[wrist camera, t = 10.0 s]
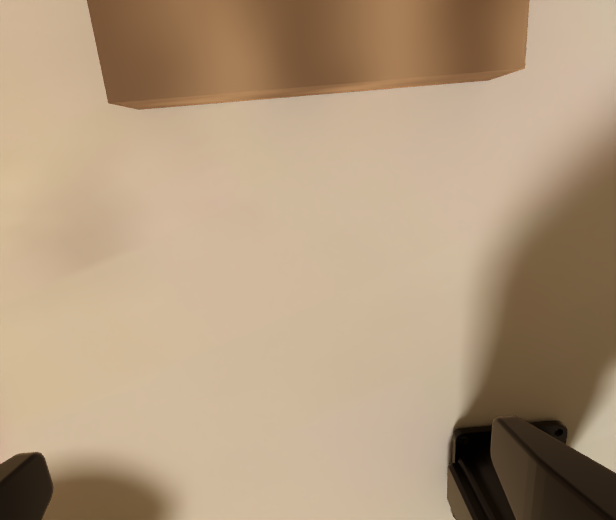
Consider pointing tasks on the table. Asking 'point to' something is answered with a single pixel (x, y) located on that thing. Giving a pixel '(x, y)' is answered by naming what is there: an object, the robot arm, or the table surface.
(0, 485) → the robot arm
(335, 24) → the walnut base
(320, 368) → the table surface
